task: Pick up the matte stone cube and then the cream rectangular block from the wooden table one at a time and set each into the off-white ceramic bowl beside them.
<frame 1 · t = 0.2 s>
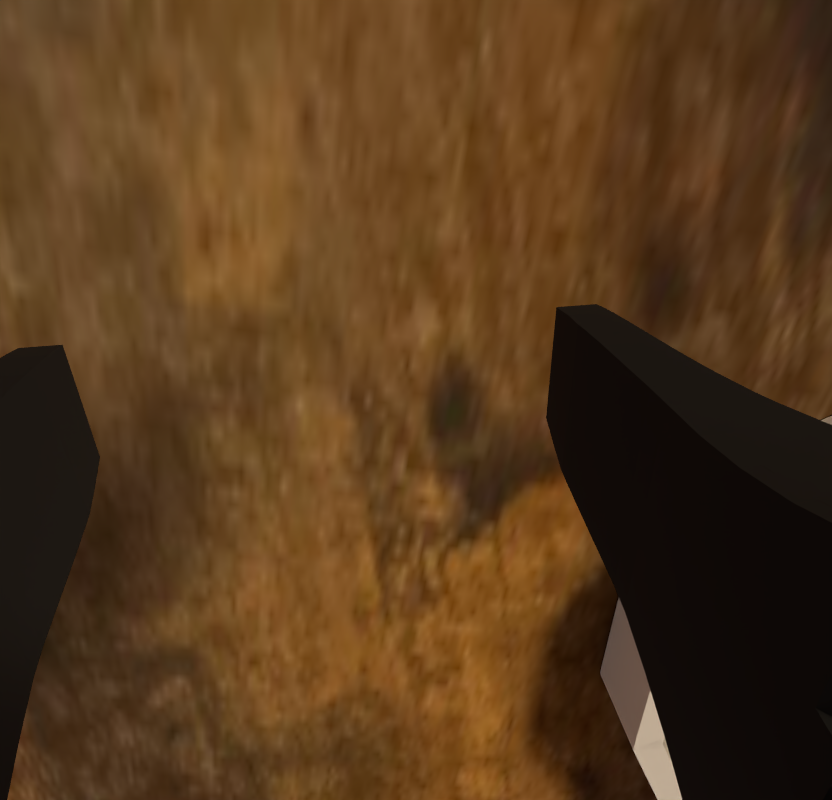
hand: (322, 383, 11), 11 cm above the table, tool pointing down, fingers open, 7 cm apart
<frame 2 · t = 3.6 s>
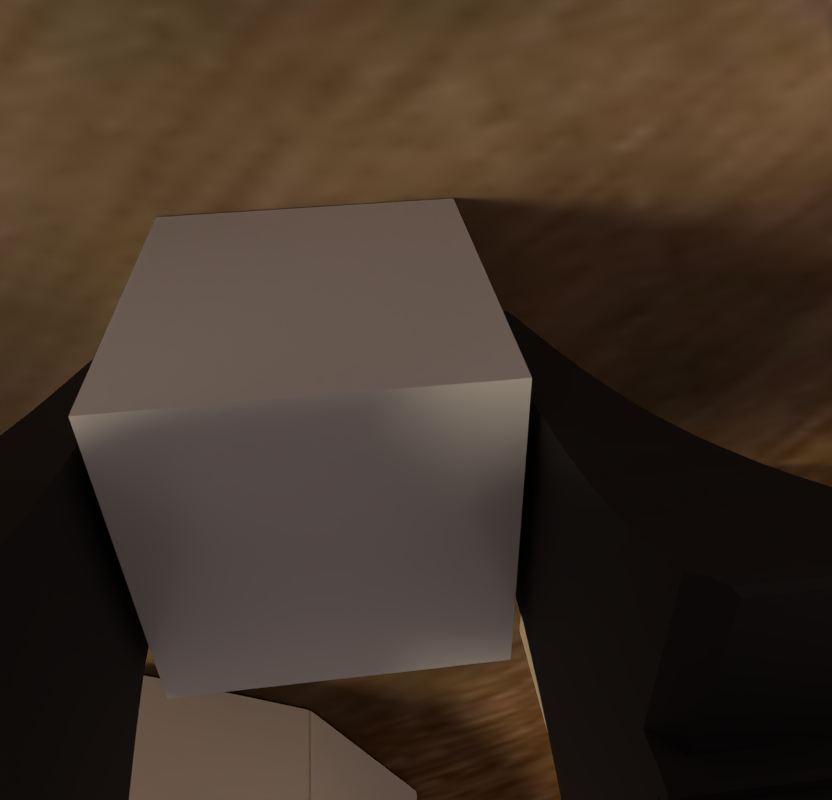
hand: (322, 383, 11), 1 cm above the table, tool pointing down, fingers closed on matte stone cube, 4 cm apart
matte stone cube: (320, 335, 13), on the table, touching gripper
cream rectangular block: (624, 552, 17), on the table
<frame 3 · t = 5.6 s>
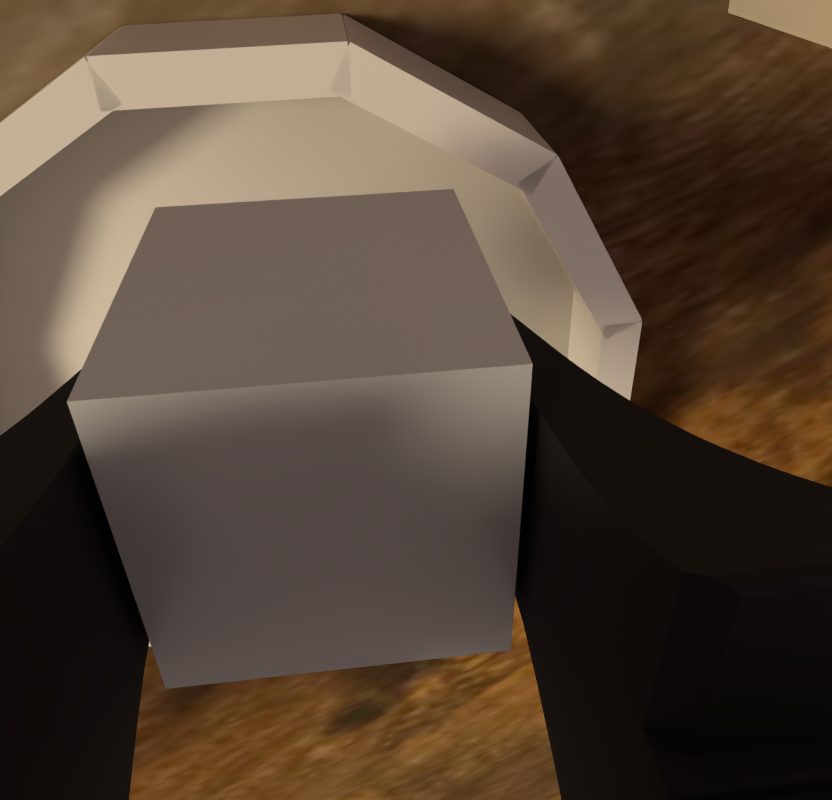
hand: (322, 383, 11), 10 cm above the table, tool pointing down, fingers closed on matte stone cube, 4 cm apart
matte stone cube: (320, 327, 13), point 8 cm above the table, touching gripper
bowl: (286, 363, 23), on the table
when the fingers open (4 cm above the table, at t = 7.5 s): matte stone cube drops 1 cm, resting on bowl.
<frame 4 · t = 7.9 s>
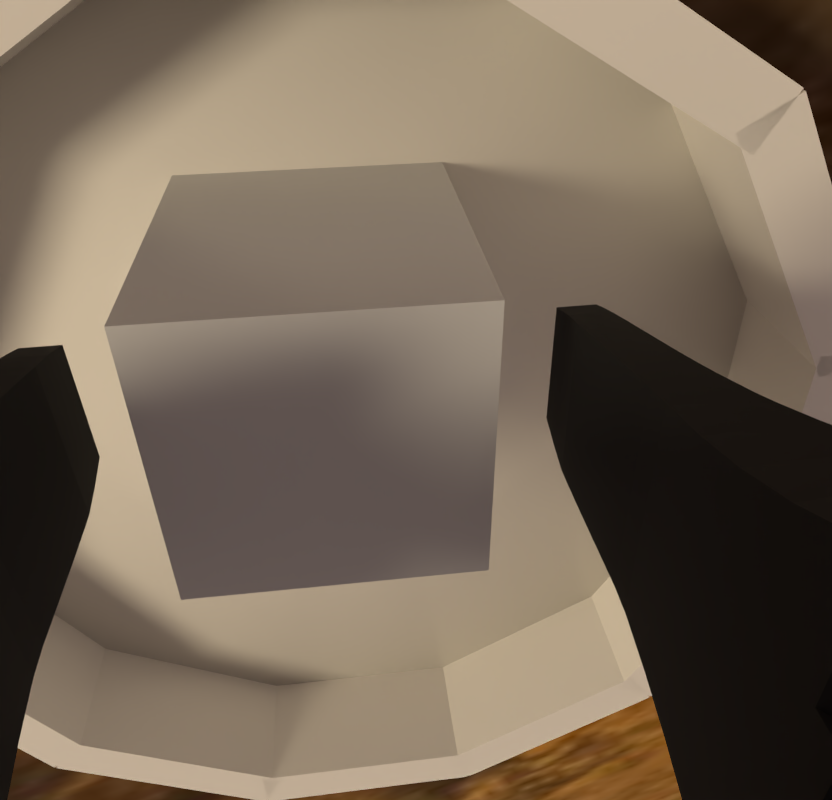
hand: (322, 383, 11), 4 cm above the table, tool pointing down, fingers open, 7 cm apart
matte stone cube: (320, 289, 14), point 1 cm above the table, touching bowl
bowl: (332, 399, 16), on the table
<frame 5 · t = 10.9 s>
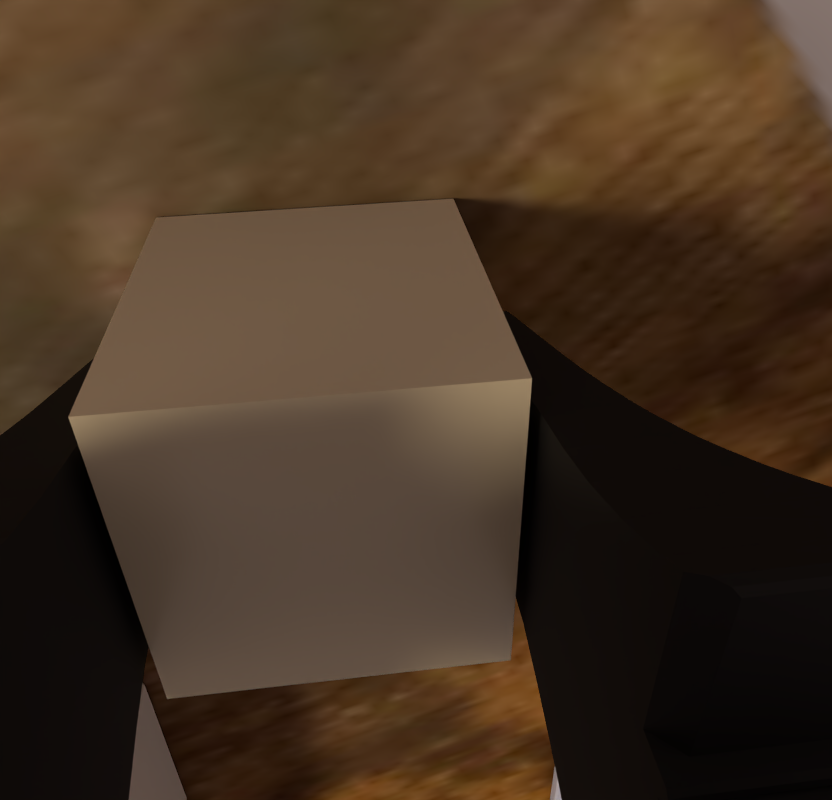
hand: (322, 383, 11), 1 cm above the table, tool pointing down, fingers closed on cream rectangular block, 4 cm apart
cream rectangular block: (320, 336, 13), on the table, touching gripper
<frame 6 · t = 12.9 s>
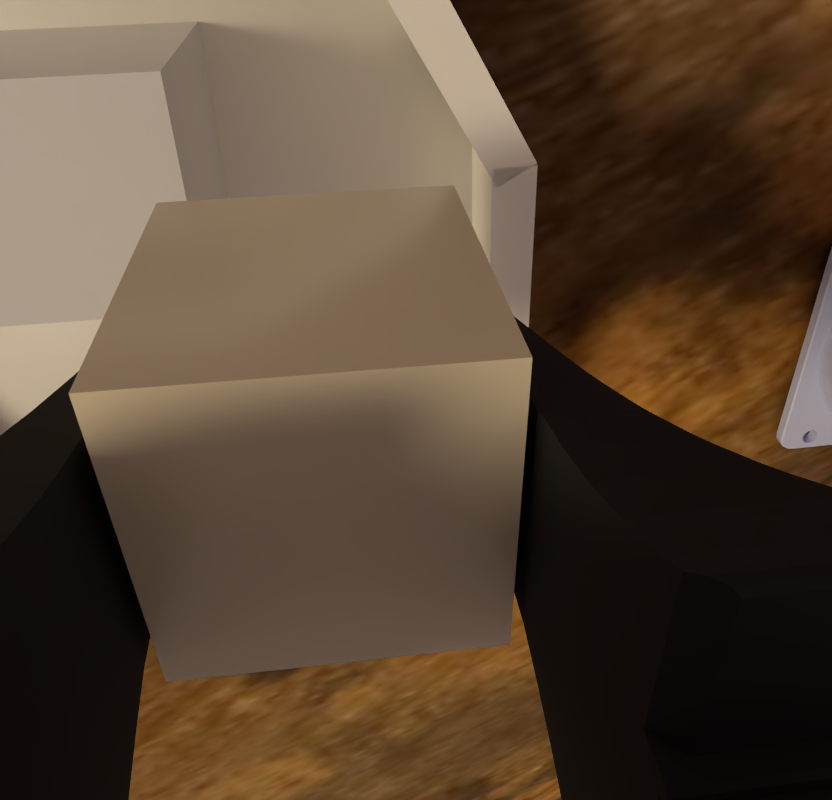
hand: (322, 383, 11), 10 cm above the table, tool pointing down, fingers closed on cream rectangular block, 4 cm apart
matte stone cube: (119, 131, 18), point 1 cm above the table, touching bowl
bowl: (156, 241, 20), on the table
cream rectangular block: (321, 323, 13), point 8 cm above the table, touching gripper
when the fingers open (4 cm above the table, at t = 15.0 s): cream rectangular block drops 1 cm, resting on bowl.
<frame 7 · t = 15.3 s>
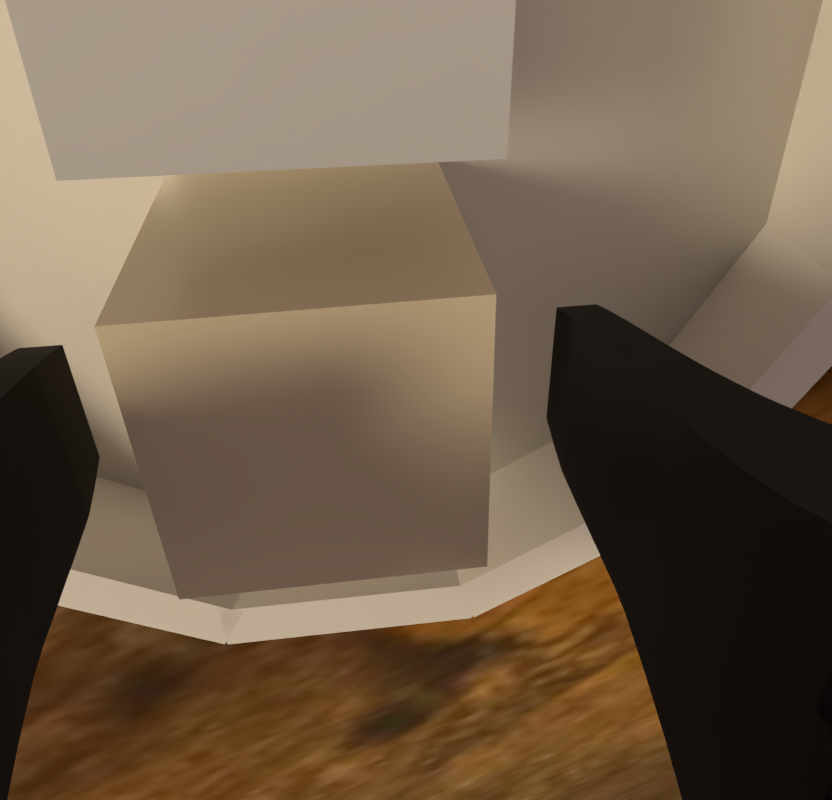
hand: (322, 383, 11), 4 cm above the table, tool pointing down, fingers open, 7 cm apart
bowl: (302, 109, 13), on the table
cream rectangular block: (316, 287, 14), point 1 cm above the table, touching bowl
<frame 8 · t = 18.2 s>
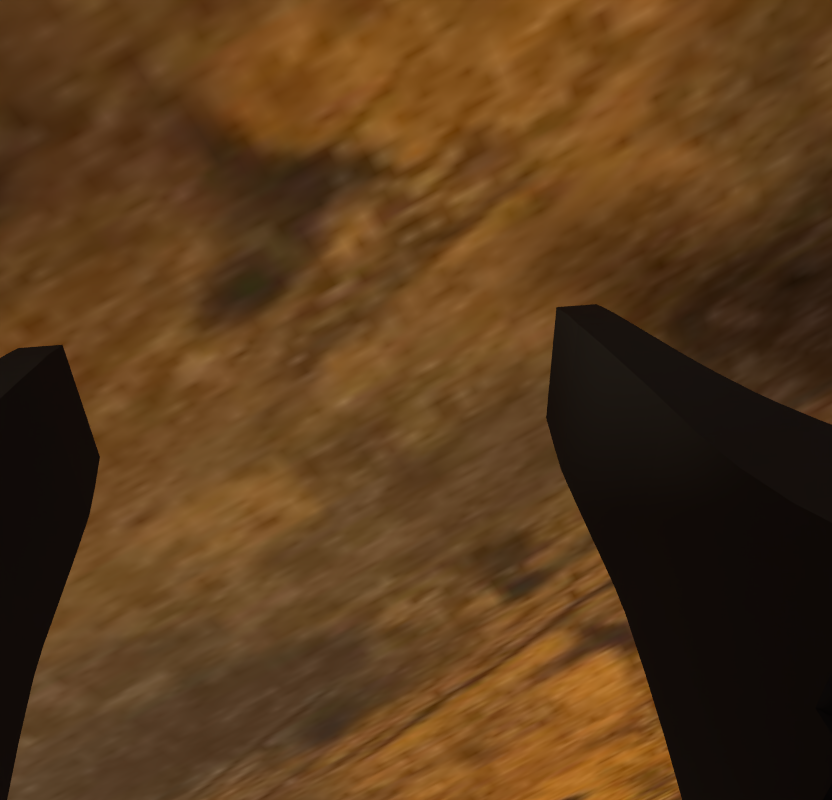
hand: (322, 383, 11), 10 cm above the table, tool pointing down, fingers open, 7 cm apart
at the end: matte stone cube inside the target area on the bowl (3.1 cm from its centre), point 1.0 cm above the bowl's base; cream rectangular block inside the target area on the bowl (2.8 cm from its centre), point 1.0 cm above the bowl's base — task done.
